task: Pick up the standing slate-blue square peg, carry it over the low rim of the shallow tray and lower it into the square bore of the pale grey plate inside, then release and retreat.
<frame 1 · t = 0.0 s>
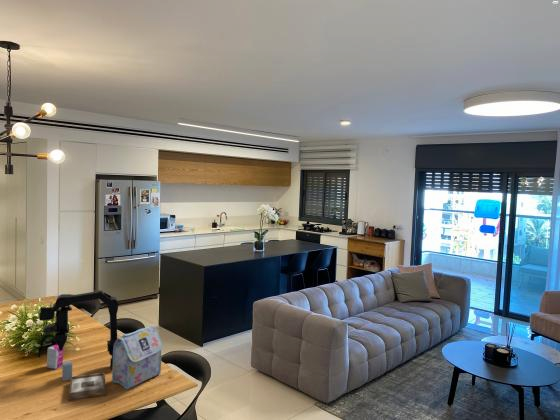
hand: (61, 347, 220), 15 cm above the table, fingers open, 9 cm apart
peg: (67, 377, 217), on the table
shallow tray: (87, 389, 207), on the table
lunch bag: (137, 379, 219), on the table
supplement box: (54, 367, 229), on the table
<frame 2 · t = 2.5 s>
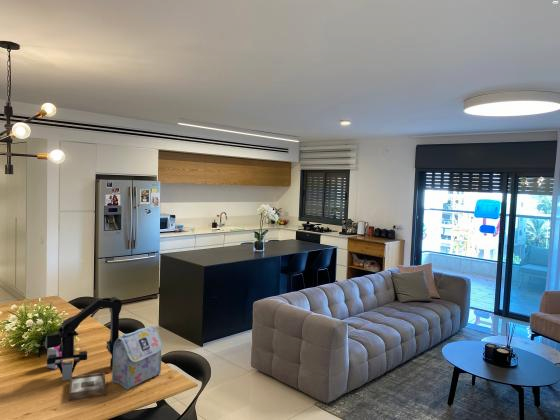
hand: (67, 373, 217), 3 cm above the table, fingers closed on peg, 4 cm apart
peg: (67, 377, 217), on the table, touching gripper
everything else where it was.
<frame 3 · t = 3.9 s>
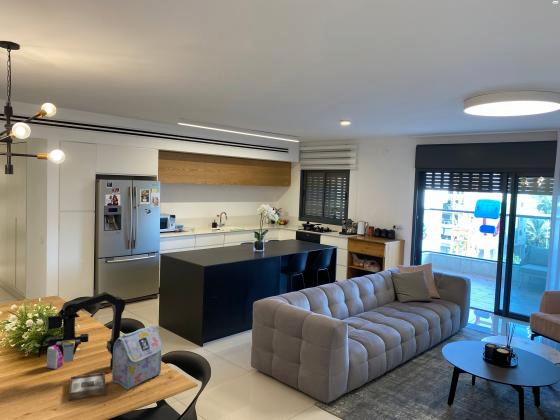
hand: (68, 355, 216), 12 cm above the table, fingers closed on peg, 4 cm apart
peg: (68, 360, 216), point 10 cm above the table, touching gripper
everything else where it was.
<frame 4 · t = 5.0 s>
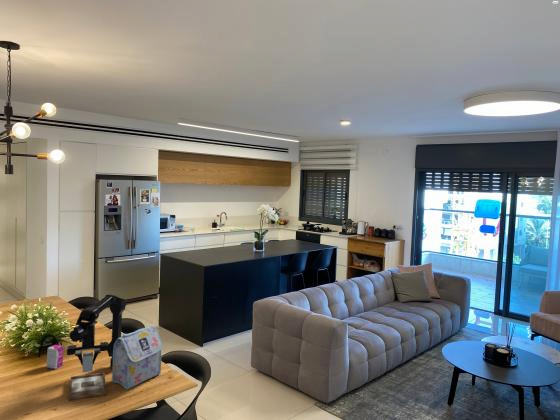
hand: (87, 364, 206), 13 cm above the table, fingers closed on peg, 4 cm apart
peg: (87, 369, 206), point 10 cm above the table, touching gripper
everything else where it was.
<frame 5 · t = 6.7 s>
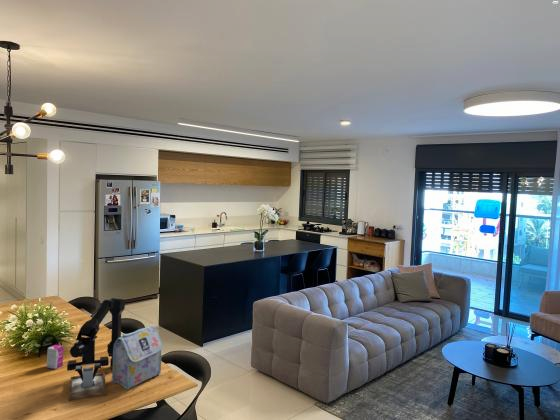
hand: (87, 379, 206), 5 cm above the table, fingers closed on peg, 4 cm apart
peg: (87, 384, 207), point 2 cm above the table, touching gripper
everything else where it was.
when the fingers open (4 cm above the table, at t = 7.8 s): peg stays where it is, resting on shallow tray.
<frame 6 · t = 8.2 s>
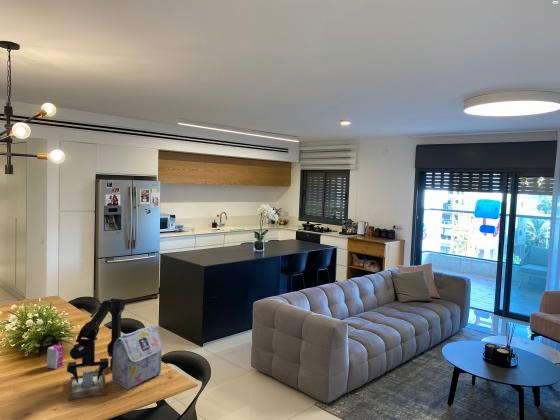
hand: (87, 381, 206), 4 cm above the table, fingers open, 9 cm apart
peg: (87, 388, 207), point 1 cm above the table, touching shallow tray
everything else where it was.
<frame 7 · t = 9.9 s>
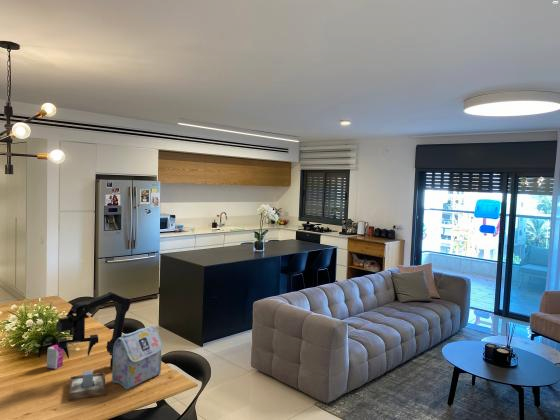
hand: (78, 356, 214), 13 cm above the table, fingers open, 9 cm apart
nothing on the table moved.
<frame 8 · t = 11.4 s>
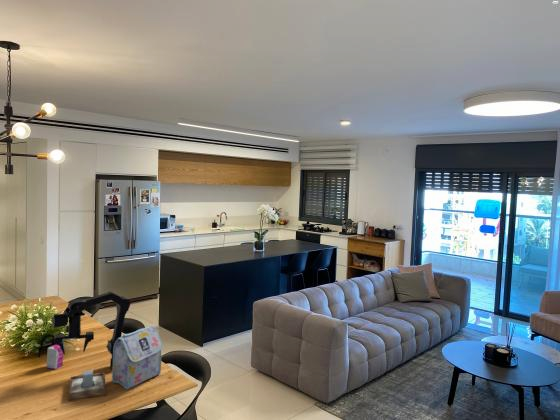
hand: (74, 353, 218), 13 cm above the table, fingers open, 9 cm apart
nothing on the table moved.
at the end: peg 0.0 cm off-centre on the shallow tray, point 0.6 cm above the shallow tray's base; peg tilted 0°; the gripper is holding nothing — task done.
